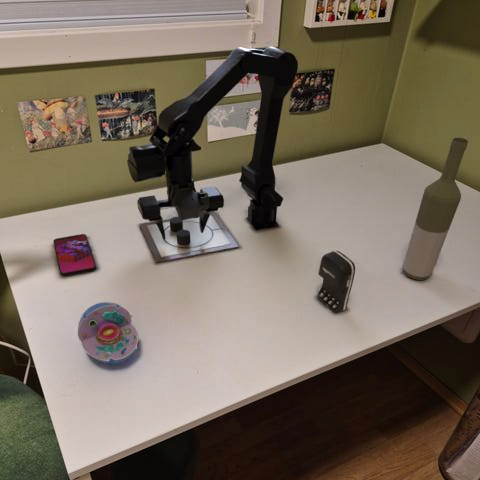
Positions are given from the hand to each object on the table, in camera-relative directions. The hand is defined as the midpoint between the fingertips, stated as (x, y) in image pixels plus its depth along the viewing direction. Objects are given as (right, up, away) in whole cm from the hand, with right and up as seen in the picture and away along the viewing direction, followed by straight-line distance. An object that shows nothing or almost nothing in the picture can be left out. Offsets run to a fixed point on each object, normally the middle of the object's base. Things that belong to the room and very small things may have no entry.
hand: (183, 235), depth 111 cm
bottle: (+53, -10, -5) cm, 54 cm away
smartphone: (-25, -5, -3) cm, 25 cm away
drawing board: (+1, +1, +4) cm, 4 cm away
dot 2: (0, -1, +1) cm, 2 cm away
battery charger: (+32, -17, -14) cm, 39 cm away
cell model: (-9, -26, -26) cm, 38 cm away
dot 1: (-2, +3, +6) cm, 7 cm away
